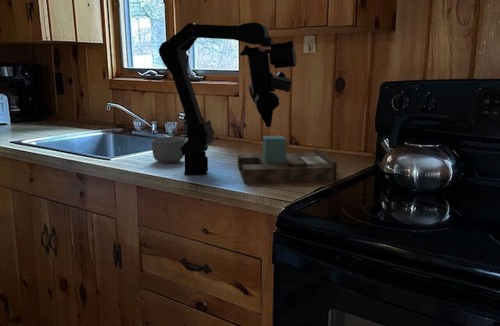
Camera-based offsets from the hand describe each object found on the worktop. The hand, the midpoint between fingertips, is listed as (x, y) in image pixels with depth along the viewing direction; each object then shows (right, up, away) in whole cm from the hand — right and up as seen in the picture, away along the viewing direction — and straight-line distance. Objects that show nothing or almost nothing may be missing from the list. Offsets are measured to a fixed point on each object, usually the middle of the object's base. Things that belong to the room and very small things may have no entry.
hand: (266, 122), depth 136 cm
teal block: (+2, -11, +3) cm, 12 cm away
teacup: (-32, -12, +21) cm, 40 cm away
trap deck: (+5, -15, +4) cm, 17 cm away
